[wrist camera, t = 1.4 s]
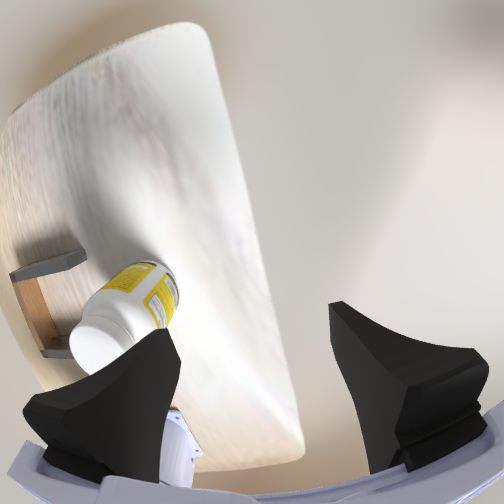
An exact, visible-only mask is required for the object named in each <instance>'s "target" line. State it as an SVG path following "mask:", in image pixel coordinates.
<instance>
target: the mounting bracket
mask: <svg viewBox="0 0 504 504" xmlns="http://www.w3.org/2000/svg"><path fill="white" fill-rule="evenodd" d="M85 260H87V258H86V254H85V250H84V249H82V250H78V251H74V252H70V253H67V254H63V255H60V256H56V257H53V258H49V259H46V260H42V261H39V262H35V263H32V264H29V265H26V266H24V267H22V268H20V269H18V270H16V271H14V272H11V273H9V275H10V278H11V281H12V284H13V287H14V290H15V293H16V296H17V299H18V301H19V304H20V307H21V309H22V312H23V314H24V317H25V319H26V321H27V324H28V326H29V328H30V331H31V333H32V335H33V337H34V339H35V341H36V343H37V345H38V347H39V349H40V351H41V353H42V355H43V357H44V358H62V359H75V358H74V356H73V354H72V352H71V349H70V344H69V338H70V336H59V335H58V333H57V331H56V328H55V326H54V324H53V321H52V319H51V317H50V314H49V312H48V309H47V307H46V304H45V301H44V299H43V296H42V293H41V290H40V288H39V285H38V282H37V279H36V277H40V276H44V275H49V274H53V273H57V272H61V271H66V270H69V269H71V268H73V267H75V266H76V265H78V264H80V263H82V262H84V261H85Z"/></svg>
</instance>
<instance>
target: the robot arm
mask: <svg viewBox="0 0 504 504" xmlns="http://www.w3.org/2000/svg"><path fill="white" fill-rule="evenodd" d="M328 305H329V320H330V339H331V344H332V348H333V352H334V355H335V359H336V361H337V364H338V366H339V368H340V371H341V373H342V375H343V378H344V380H345V382H346V384H347V386H348V389H349V391H350V394H351V396H352V399H353V401H354V404H355V408H356V411H357V415H358V419H359V422H360V427H361V431H362V435H363V439H364V444H365V448H366V453H367V458H368V464H369V470H370V475H368V476H365V477H362V478H358V479H354V480H351V481H346V482H343V483H338V484H333V485H329V486H324V487H318V488H313V489H307V490H300V491H292V492H284V493H273V494H258V495H243V494H239V493H234V492H230V491H220V490H211V489H199V488H191V487H192V481H193V474H194V468H195V461H196V456H203V454H204V453H203V451H202V450H201V448H200V446H199V445H198V443H197V441H196V440H195V438H194V436H193V435H192V433H191V431H190V429H189V428H188V426H187V424H186V422H185V420H184V419H183V417H182V415H181V413H180V412H179V411H177V410H169V408H170V405H171V402H172V399H173V396H174V393H175V389H176V386H177V383H178V380H179V374H180V367H181V360H180V358H179V355H178V353H177V351H176V348H175V346H174V344H173V341H172V339H171V336H170V334H169V331H168V329H167V328H161V329H155V330H153V331H152V332H150V333H149V334H148V335H146V336H145V337H144V338H142V339H141V340H140V341H139V342H137V343H136V344H135V345H134V346H132V347H131V348H130V349H129V350H127V351H126V352H125V353H123V354H122V355H121V356H119V357H118V358H117V359H115V360H114V361H112V362H111V363H110V364H108V365H107V366H105V367H104V368H102V369H100V370H99V371H97V372H95V373H93V374H92V375H90V376H88V377H86V378H83V379H81V380H79V381H77V382H75V383H73V384H70V385H68V386H65V387H62V388H59V389H56V390H52V391H48V392H44V393H40V394H35V395H34V396H33V397H32V398H31V399H30V401H29V402H28V403H27V405H26V406H25V407H24V409H23V415H24V417H25V419H26V421H27V422H28V424H29V425H30V426H31V428H32V429H33V430H34V431H35V432H36V433H37V434H38V435H39V436H40V437H41V439H42V440H43V441H44V442H45V443H46V444H47V445H48V447H47V449H46V450H45V449H44V448H43V447H41V446H39V445H37V444H35V443H33V442H31V441H29V440H26V442H25V443H24V445H23V446H22V448H21V450H20V451H19V453H18V455H17V457H16V458H15V460H14V462H13V463H12V465H11V467H10V469H9V470H8V472H7V475H8V476H9V477H10V478H11V479H13V480H14V481H15V482H16V483H17V484H18V485H20V486H21V487H22V488H24V489H25V490H26V491H27V492H29V493H30V494H32V495H33V496H34V497H36V498H37V499H38V500H40V501H41V502H43V503H44V504H464V503H465V502H467V501H468V500H470V499H472V498H473V497H475V496H476V495H478V494H479V493H480V492H482V491H483V490H485V489H486V488H488V487H489V486H490V485H492V484H493V483H494V482H496V481H497V480H498V479H499V478H501V477H502V476H503V475H504V400H503V401H501V402H500V403H499V404H497V405H496V406H494V407H493V408H491V409H490V410H489V411H488V412H487V413H486V414H485V415H484V416H483V417H482V416H481V414H480V413H479V410H480V409H481V405H480V404H479V402H478V401H477V399H478V397H479V395H480V393H481V391H482V389H483V387H484V385H485V383H486V380H487V377H488V374H489V366H488V363H487V362H486V361H485V360H484V359H483V358H482V356H481V355H480V354H479V353H478V352H477V351H476V350H475V349H474V348H457V347H447V346H441V345H435V344H431V343H426V342H423V341H419V340H415V339H412V338H409V337H406V336H404V335H401V334H398V333H396V332H394V331H392V330H389V329H387V328H385V327H383V326H382V325H380V324H378V323H376V322H374V321H372V320H371V319H369V318H367V317H366V316H364V315H363V314H361V313H359V312H358V311H356V310H355V309H353V308H352V307H350V306H349V305H348V304H346V303H345V302H343V301H339V302H335V303H330V304H328Z"/></svg>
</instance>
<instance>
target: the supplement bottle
mask: <svg viewBox="0 0 504 504" xmlns="http://www.w3.org/2000/svg"><path fill="white" fill-rule="evenodd" d="M179 298H180V292H179V286H178V283H177V281H176V279H175V277H174V276H173V274H172V273H171V272H170V271H169V270H168V269H167V268H166V267H164V266H163V265H161V264H159V263H157V262H154V261H149V260H142V261H137V262H135V263H133V264H131V265H129V266H128V267H127V268H125V269H124V270H123V271H122V272H121V273H119V274H118V275H117V276H116V277H114V278H113V279H112V280H111V281H110V282H108V283H107V284H106V285H105V286H103V287H102V288H101V289H100V290H98V291H97V292H96V293H95V294H93V295H92V296H91V297H90V298H89V300H88V301H87V302H86V304H85V306H84V309H83V313H82V320H81V321H80V323H79V324H78V325H77V326H76V327H75V328H74V329H73V330H72V332H71V334H70V338H69V344H70V349H71V352H72V354H73V356H74V358H75V360H76V361H77V363H78V364H79V365H80V366H81V368H82V369H83V370H84V371H86V372H87V373H88V374H89V375H92V374H93V373H95V372H97V371H99V370H100V369H102V368H104V367H105V366H107V365H108V364H110V363H111V362H112V361H114V360H115V359H117V358H118V357H119V356H121V355H122V354H123V353H125V352H126V351H127V350H129V349H130V348H131V347H132V346H134V345H135V344H136V343H137V342H139V341H140V340H141V339H142V338H144V337H145V336H146V335H148V334H149V333H150V332H152V331H153V330H155V329H161V328H167V326H168V324H169V322H170V320H171V318H172V316H173V314H174V312H175V310H176V308H177V306H178V303H179Z"/></svg>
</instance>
